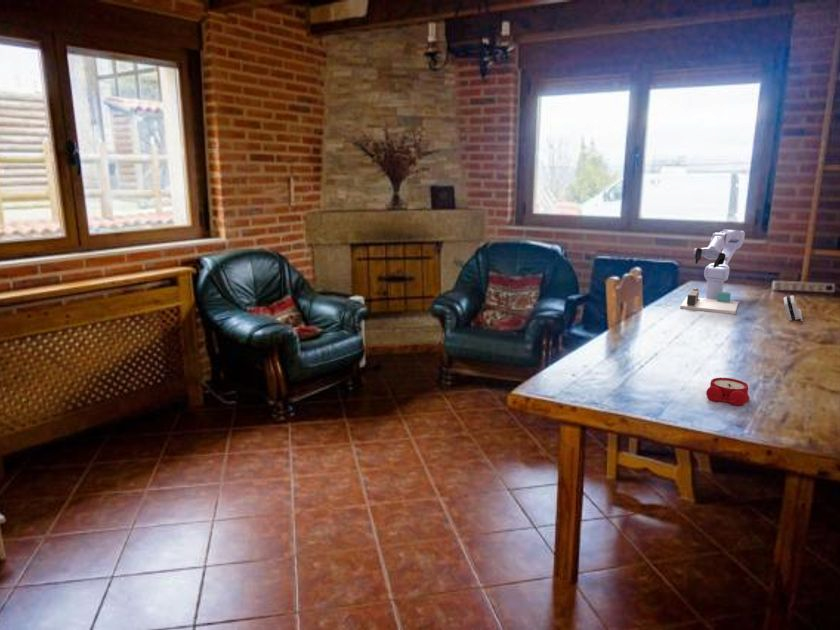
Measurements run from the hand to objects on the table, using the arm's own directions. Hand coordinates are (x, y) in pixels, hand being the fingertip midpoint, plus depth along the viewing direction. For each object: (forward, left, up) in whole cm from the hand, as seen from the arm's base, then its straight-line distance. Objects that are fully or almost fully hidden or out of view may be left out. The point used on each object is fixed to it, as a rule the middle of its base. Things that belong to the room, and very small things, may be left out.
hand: (705, 263), depth 269 cm
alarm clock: (+119, +19, -20) cm, 122 cm away
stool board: (-3, +4, -20) cm, 20 cm away
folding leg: (-1, -3, -18) cm, 18 cm away
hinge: (0, +36, -20) cm, 41 cm away
